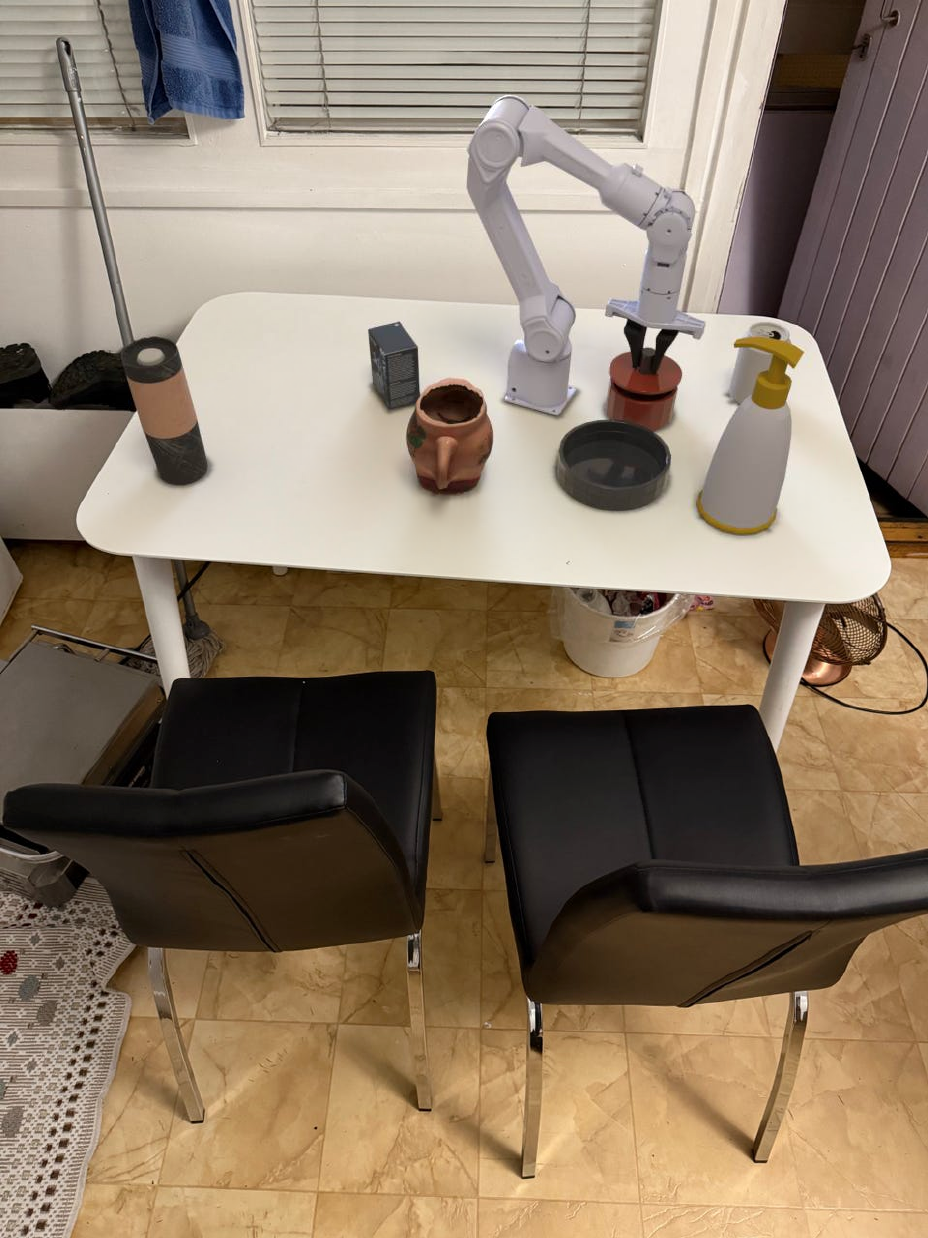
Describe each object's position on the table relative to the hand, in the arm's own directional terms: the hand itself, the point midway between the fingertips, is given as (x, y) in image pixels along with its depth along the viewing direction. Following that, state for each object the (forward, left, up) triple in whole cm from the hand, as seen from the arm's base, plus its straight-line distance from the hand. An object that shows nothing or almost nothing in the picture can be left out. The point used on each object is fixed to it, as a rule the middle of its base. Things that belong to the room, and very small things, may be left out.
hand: (646, 367), depth 140 cm
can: (+15, +12, -8) cm, 21 cm away
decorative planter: (-19, -29, -8) cm, 36 cm away
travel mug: (-56, -44, -8) cm, 72 cm away
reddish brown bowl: (0, 0, -8) cm, 8 cm away
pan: (+2, -16, -8) cm, 18 cm away
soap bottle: (+20, -16, -8) cm, 27 cm away
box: (-37, -13, -8) cm, 40 cm away
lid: (0, 0, -1) cm, 1 cm away
